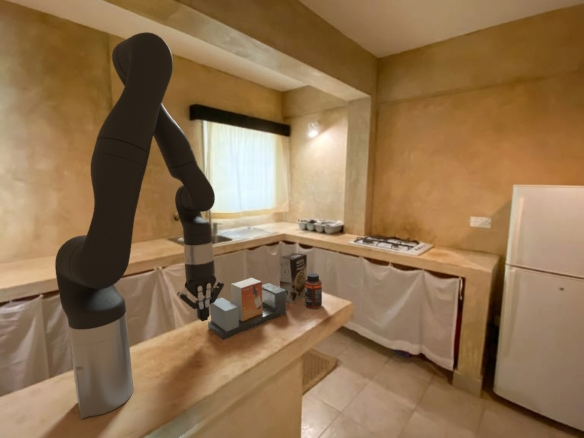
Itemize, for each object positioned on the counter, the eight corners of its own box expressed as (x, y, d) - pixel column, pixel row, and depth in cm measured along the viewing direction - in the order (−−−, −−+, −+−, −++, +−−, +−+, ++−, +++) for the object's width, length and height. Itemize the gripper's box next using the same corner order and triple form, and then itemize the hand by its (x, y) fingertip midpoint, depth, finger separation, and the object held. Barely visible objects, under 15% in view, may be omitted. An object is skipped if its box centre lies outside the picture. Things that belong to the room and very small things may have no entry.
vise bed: (223, 340, 77) (222, 312, 76) (208, 328, 84) (206, 302, 83) (286, 313, 92) (285, 289, 91) (269, 304, 99) (268, 283, 98)
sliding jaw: (226, 331, 77) (225, 311, 77) (211, 320, 84) (210, 301, 83) (238, 326, 80) (237, 306, 79) (223, 316, 87) (222, 297, 86)
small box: (242, 322, 83) (240, 288, 81) (231, 316, 87) (230, 283, 85) (263, 313, 88) (262, 281, 87) (252, 307, 92) (251, 277, 91)
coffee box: (293, 304, 99) (292, 259, 97) (279, 299, 103) (278, 257, 101) (307, 295, 107) (307, 254, 105) (294, 291, 111) (293, 251, 108)
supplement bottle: (324, 304, 99) (324, 273, 97) (317, 311, 94) (317, 278, 92) (309, 300, 102) (309, 270, 100) (301, 307, 97) (301, 275, 95)
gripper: (215, 251, 82) (218, 307, 85) (169, 261, 73) (174, 323, 76) (228, 256, 77) (231, 316, 79) (180, 267, 68) (185, 334, 70)
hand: (203, 319), depth 78 cm, fingers closed
